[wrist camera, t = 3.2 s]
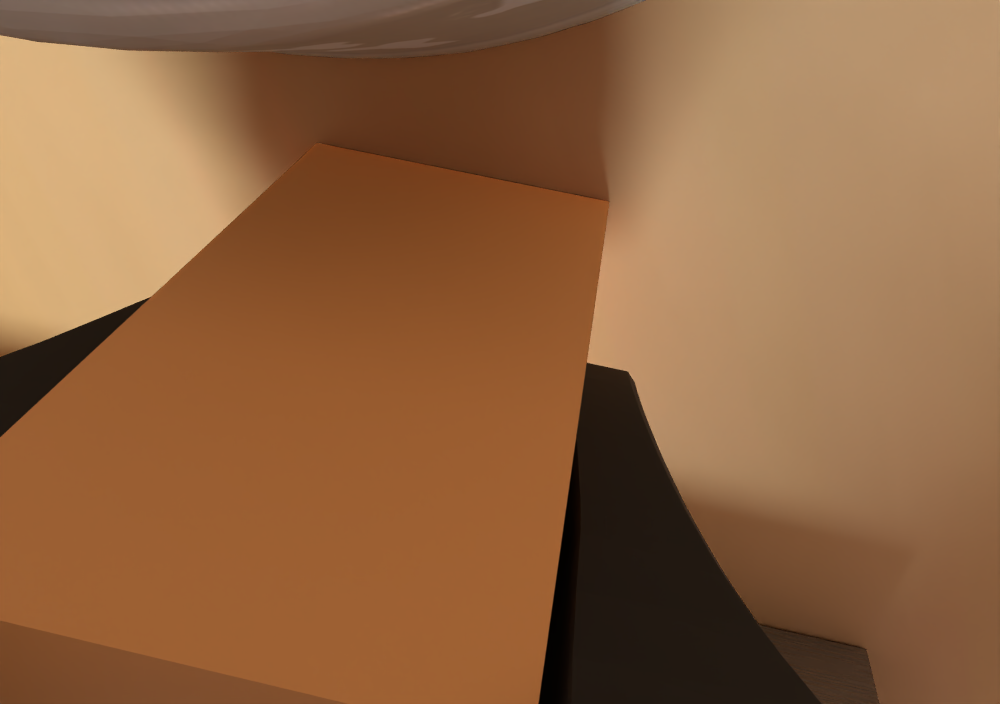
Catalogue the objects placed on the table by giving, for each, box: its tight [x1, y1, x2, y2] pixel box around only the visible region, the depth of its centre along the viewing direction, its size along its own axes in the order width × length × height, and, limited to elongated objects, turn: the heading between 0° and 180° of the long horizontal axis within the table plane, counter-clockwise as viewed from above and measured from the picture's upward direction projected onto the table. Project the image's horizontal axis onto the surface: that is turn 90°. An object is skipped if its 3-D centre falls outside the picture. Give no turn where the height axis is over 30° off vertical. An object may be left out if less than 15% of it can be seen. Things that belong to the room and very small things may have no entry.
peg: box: [0, 143, 609, 704], centre depth 9 cm, size 4×4×8 cm
